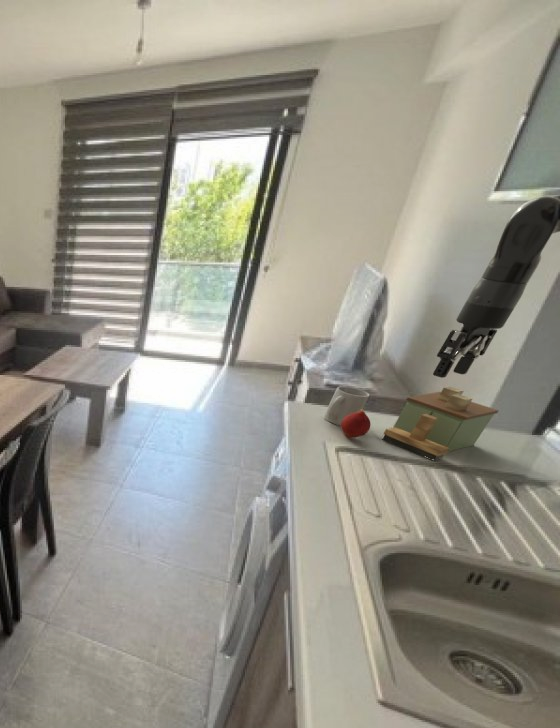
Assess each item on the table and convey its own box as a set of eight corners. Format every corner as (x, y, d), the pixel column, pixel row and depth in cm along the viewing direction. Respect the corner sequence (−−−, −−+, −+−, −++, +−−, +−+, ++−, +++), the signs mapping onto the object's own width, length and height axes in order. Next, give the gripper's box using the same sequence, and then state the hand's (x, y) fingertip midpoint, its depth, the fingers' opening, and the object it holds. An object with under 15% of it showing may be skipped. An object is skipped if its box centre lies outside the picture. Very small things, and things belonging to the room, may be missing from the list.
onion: (361, 437, 125) (376, 409, 121) (363, 445, 120) (378, 416, 116) (334, 430, 127) (348, 403, 123) (336, 438, 123) (350, 410, 119)
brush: (443, 459, 116) (464, 426, 112) (434, 461, 115) (455, 428, 110) (389, 437, 126) (407, 405, 121) (380, 439, 124) (397, 407, 120)
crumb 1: (457, 401, 123) (464, 390, 122) (451, 402, 122) (457, 391, 121) (443, 397, 126) (450, 386, 124) (437, 398, 124) (443, 387, 123)
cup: (360, 425, 132) (375, 394, 127) (337, 429, 128) (352, 398, 124) (333, 414, 137) (347, 385, 133) (310, 418, 134) (324, 388, 129)
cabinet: (475, 445, 124) (499, 410, 119) (442, 454, 118) (465, 417, 114) (420, 424, 134) (439, 391, 129) (386, 431, 129) (405, 397, 124)
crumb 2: (465, 409, 118) (472, 398, 117) (459, 411, 117) (466, 399, 116) (451, 405, 121) (458, 394, 119) (444, 406, 120) (451, 395, 118)
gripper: (496, 308, 96) (451, 383, 104) (530, 305, 101) (485, 377, 109) (451, 300, 102) (412, 372, 110) (485, 298, 107) (446, 366, 115)
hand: (449, 374), depth 110 cm, fingers open, 8 cm apart
